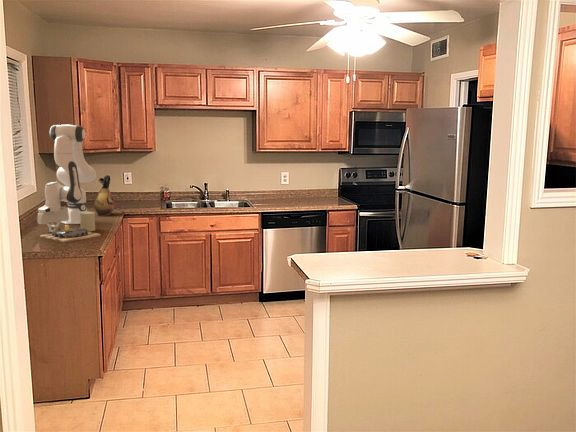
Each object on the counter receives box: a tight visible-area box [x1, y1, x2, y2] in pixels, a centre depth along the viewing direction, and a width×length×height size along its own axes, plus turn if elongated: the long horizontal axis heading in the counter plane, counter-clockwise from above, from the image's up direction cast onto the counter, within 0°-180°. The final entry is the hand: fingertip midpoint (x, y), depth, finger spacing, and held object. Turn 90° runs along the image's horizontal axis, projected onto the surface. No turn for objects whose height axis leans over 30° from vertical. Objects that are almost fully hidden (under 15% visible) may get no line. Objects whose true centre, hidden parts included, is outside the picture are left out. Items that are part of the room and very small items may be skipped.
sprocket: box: [51, 224, 89, 238], centre depth 331 cm, size 20×20×7 cm
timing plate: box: [38, 226, 101, 243], centre depth 332 cm, size 25×25×4 cm
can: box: [79, 211, 97, 232], centre depth 351 cm, size 9×9×12 cm
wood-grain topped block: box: [48, 224, 60, 233], centre depth 343 cm, size 6×3×4 cm, turn 57°
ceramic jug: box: [93, 174, 116, 217], centre depth 408 cm, size 17×15×30 cm
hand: (54, 229), depth 343 cm, fingers closed on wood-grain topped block, 3 cm apart
